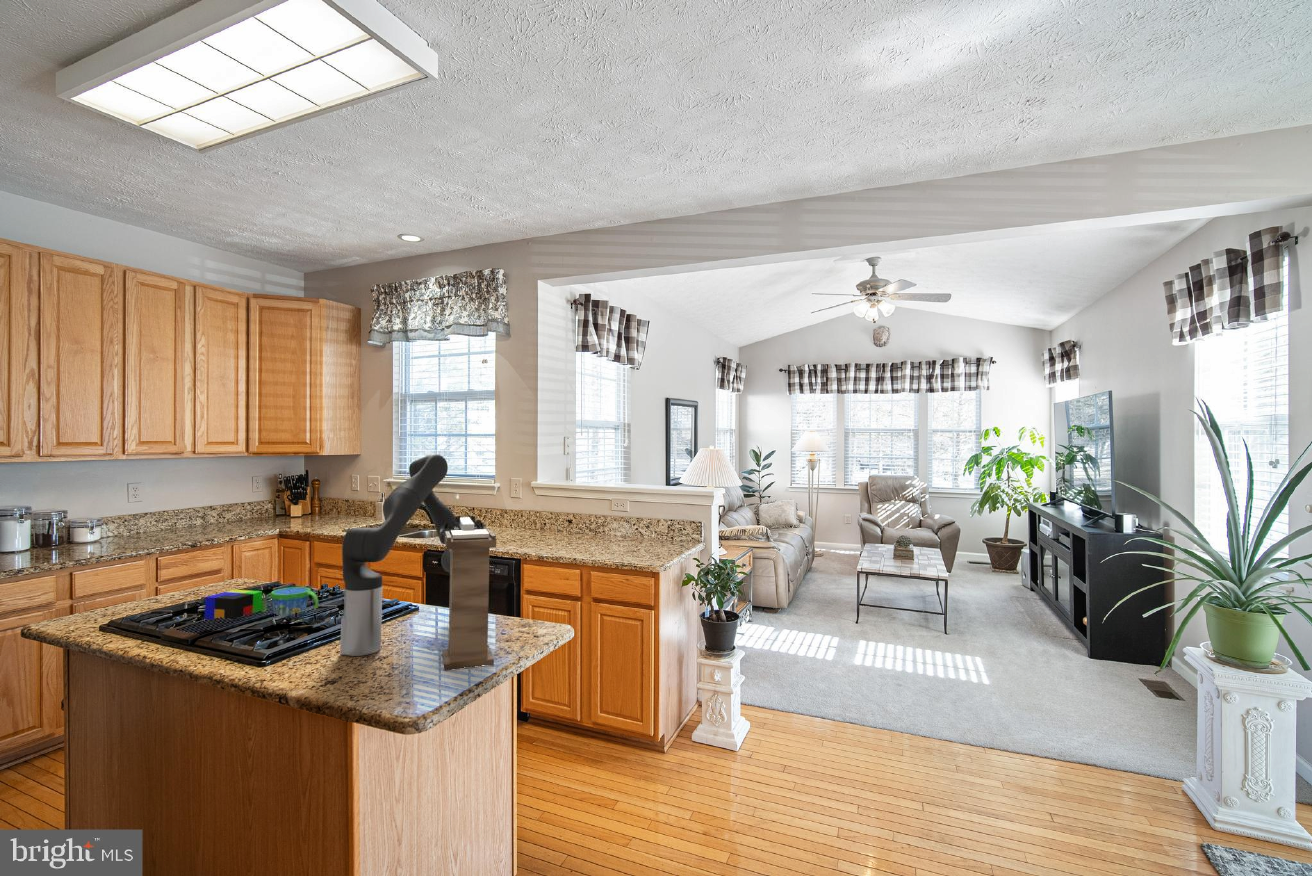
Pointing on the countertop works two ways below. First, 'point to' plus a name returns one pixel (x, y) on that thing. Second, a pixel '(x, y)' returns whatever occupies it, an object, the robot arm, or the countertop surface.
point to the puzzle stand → (468, 602)
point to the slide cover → (468, 530)
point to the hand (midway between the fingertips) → (465, 518)
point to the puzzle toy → (233, 604)
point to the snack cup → (290, 600)
